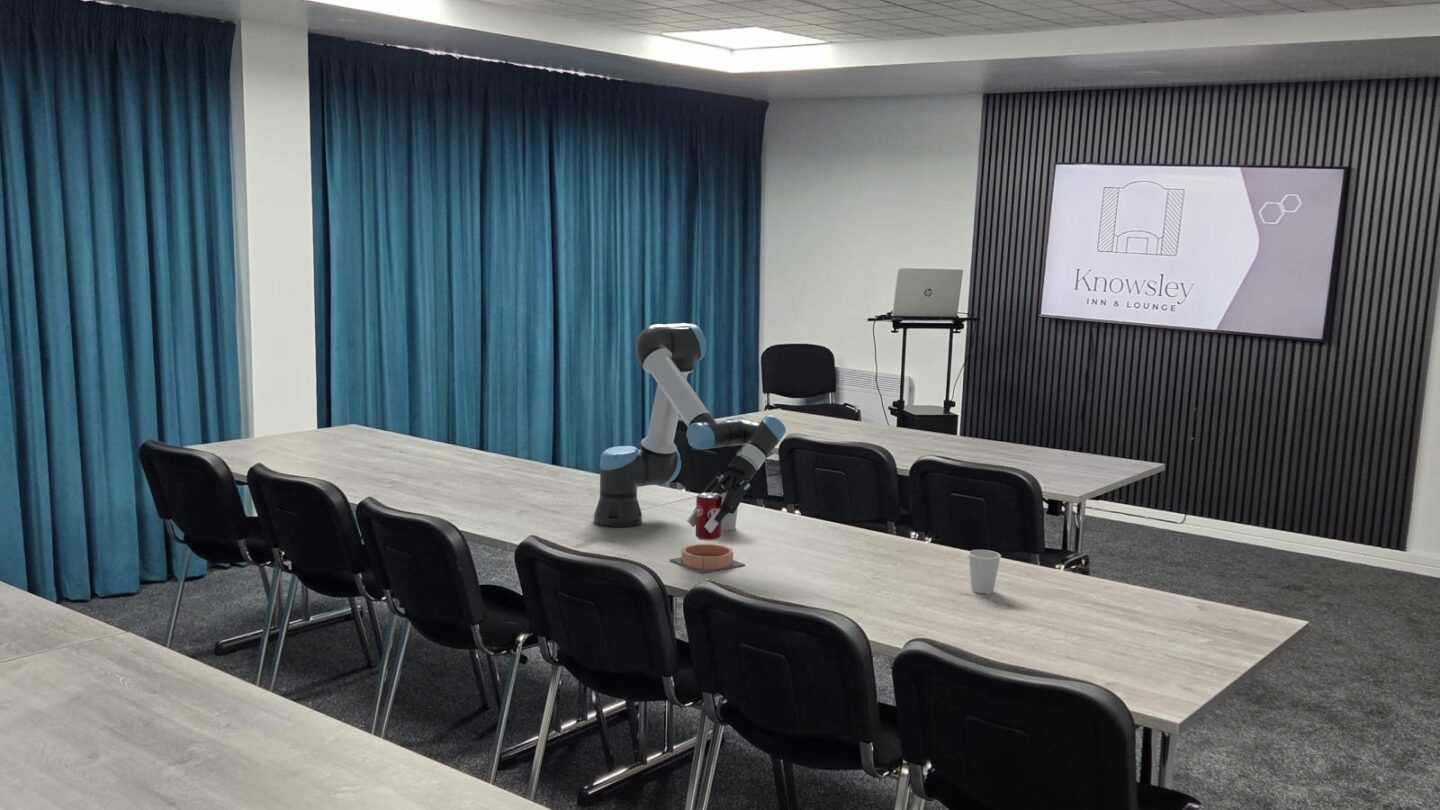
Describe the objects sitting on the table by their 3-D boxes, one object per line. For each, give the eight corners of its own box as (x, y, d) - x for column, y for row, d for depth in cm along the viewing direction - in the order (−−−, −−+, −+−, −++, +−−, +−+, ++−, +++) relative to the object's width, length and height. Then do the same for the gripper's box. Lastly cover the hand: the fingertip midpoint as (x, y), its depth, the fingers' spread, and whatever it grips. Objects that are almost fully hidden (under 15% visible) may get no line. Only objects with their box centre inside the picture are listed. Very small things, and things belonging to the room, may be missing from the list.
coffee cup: (737, 533, 364) (738, 485, 362) (706, 530, 366) (708, 482, 364) (742, 525, 373) (744, 479, 371) (713, 523, 375) (714, 477, 373)
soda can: (725, 536, 330) (726, 493, 329) (716, 542, 323) (717, 499, 322) (700, 533, 333) (701, 491, 331) (691, 539, 326) (692, 496, 324)
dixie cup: (963, 585, 316) (965, 548, 314) (995, 586, 315) (997, 550, 314) (969, 594, 307) (971, 557, 306) (1001, 596, 307) (1004, 558, 306)
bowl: (669, 560, 331) (669, 548, 330) (711, 553, 340) (712, 541, 339) (701, 573, 319) (701, 560, 318) (744, 565, 328) (745, 553, 327)
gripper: (776, 477, 327) (728, 542, 319) (731, 465, 343) (684, 527, 335) (762, 460, 323) (713, 526, 316) (717, 449, 339) (669, 511, 331)
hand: (698, 526), depth 325 cm, fingers closed on soda can, 7 cm apart
